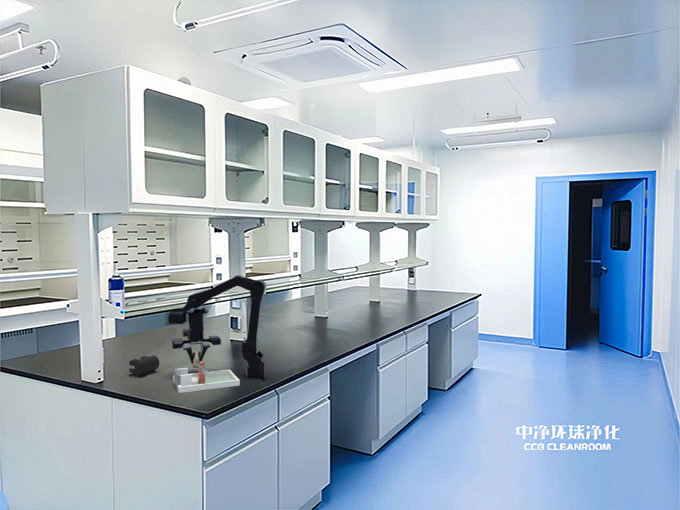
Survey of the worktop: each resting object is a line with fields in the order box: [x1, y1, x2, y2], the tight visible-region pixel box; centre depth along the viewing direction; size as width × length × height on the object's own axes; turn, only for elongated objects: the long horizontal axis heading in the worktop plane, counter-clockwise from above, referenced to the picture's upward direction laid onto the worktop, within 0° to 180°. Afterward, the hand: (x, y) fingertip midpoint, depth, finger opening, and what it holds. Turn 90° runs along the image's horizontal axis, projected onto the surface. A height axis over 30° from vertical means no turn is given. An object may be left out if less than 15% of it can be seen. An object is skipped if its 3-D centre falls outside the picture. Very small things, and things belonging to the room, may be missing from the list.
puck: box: [192, 377, 199, 385], centre depth 184 cm, size 4×4×2 cm
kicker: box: [191, 350, 209, 384], centre depth 187 cm, size 3×22×9 cm, turn 26°
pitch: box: [172, 367, 241, 394], centre depth 186 cm, size 22×16×6 cm
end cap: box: [128, 355, 160, 378], centre depth 200 cm, size 10×7×7 cm
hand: (196, 363), depth 195 cm, fingers closed on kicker, 3 cm apart
